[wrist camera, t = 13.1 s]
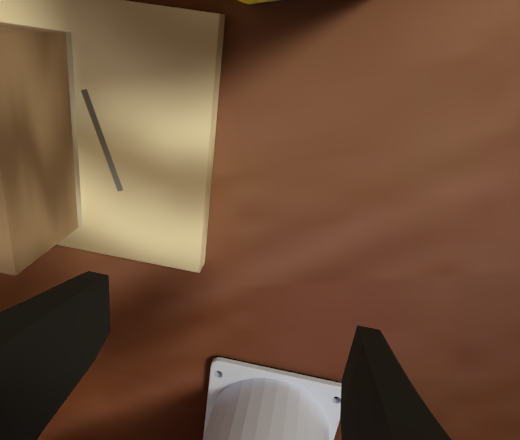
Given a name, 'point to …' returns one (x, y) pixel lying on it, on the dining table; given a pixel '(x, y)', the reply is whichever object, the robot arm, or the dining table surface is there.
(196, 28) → the birch board
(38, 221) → the block
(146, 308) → the dining table surface
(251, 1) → the supplement box
